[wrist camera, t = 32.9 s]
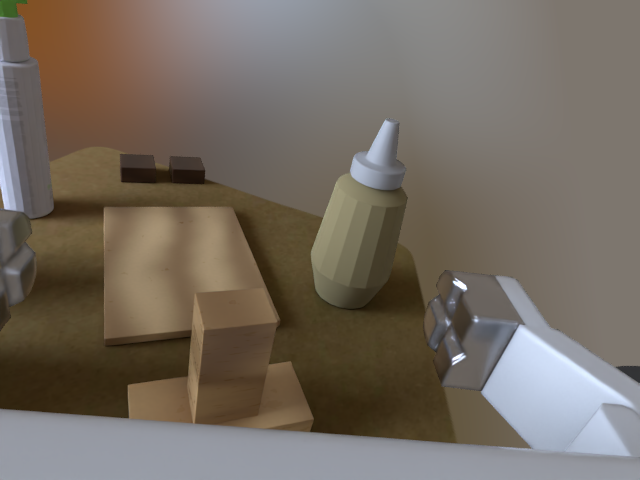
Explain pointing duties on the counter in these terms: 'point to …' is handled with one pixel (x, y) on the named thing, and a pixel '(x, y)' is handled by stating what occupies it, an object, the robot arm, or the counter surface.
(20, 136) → the bottle
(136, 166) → the chip
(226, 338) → the brush
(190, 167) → the dark brown square block
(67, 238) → the counter surface
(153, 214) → the board
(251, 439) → the robot arm
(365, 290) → the squeeze bottle
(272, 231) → the counter surface
